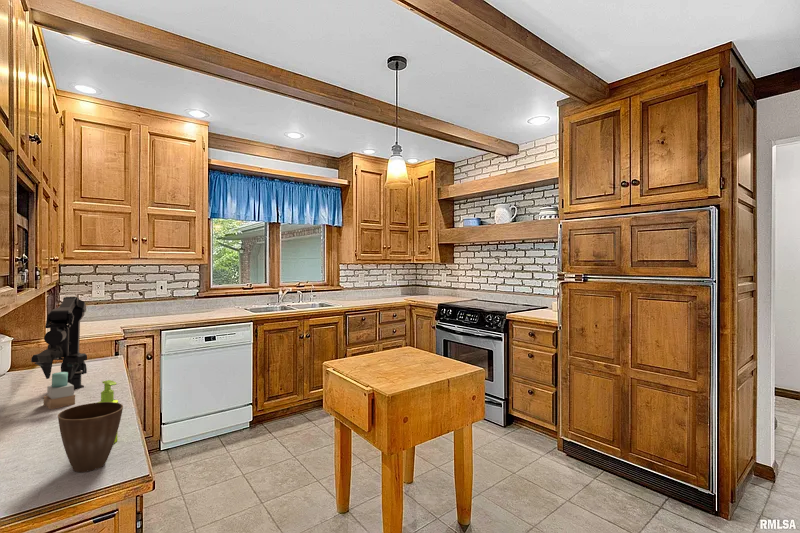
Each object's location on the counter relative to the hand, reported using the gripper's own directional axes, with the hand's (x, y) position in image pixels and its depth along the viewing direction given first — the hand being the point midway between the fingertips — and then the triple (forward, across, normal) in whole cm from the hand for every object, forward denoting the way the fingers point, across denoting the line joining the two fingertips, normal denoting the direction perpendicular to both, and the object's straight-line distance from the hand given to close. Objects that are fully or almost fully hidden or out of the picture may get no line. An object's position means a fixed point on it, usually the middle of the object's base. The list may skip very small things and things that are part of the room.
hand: (59, 378), depth 170 cm
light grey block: (+7, +1, 0) cm, 7 cm away
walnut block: (+11, 0, 0) cm, 11 cm away
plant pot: (+11, +51, -52) cm, 74 cm away
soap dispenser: (+11, +45, -36) cm, 59 cm away
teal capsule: (+3, 0, 0) cm, 3 cm away
